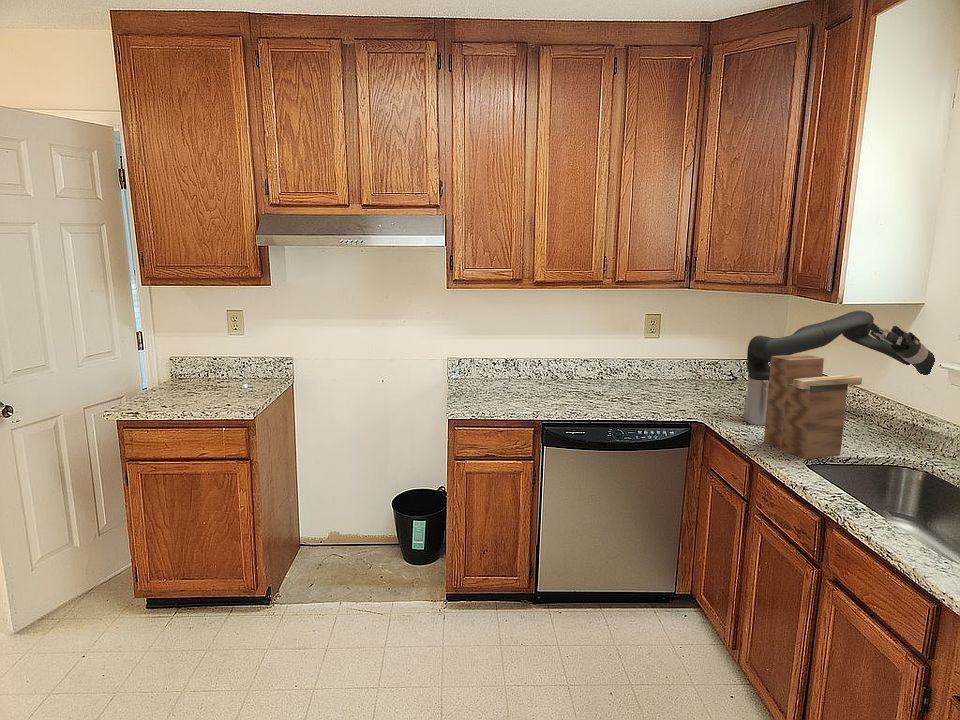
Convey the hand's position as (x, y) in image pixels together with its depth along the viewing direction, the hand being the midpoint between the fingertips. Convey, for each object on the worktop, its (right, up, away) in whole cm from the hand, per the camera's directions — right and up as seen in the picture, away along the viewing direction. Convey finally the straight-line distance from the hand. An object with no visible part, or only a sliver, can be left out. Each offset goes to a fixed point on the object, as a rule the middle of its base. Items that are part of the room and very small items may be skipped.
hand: (881, 326), depth 208 cm
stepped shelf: (-28, -41, -2) cm, 50 cm away
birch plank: (-23, -19, -9) cm, 32 cm away
